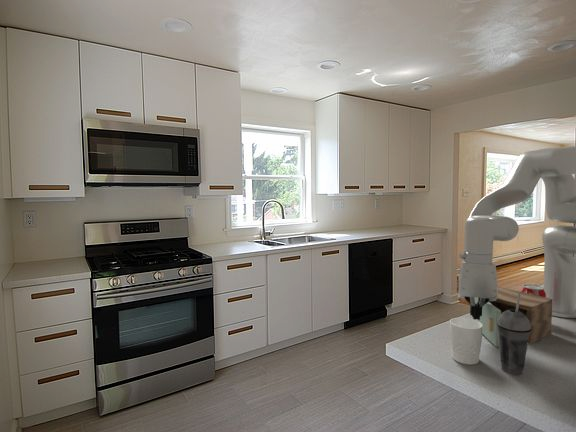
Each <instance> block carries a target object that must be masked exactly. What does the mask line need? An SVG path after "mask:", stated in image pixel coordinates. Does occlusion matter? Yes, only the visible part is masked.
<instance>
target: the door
mask: <svg viewBox="0 0 576 432" xmlns="http://www.w3.org/2000/svg"><path fill="white" fill-rule="evenodd" d="M474 299H475V304H477V302H478V297H474ZM500 315H501V311H500V310H499V309H498V308H496V307H495V306H494V305H492V304H491V303H489V302H487V303H486V304H485V305H484V306H483V307H482V316H480V320H478V319H473V318H472V319H473V320H476V321H478V322H480V323H481V324H482V325H483V328H482V336H485V338H486V339H488V341H490V343H492V344H493V346H494V347H500V340H499V332H498V326H497V322H498V318H499V316H500Z"/></svg>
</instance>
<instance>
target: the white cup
mask: <svg viewBox="0 0 576 432" xmlns="http://www.w3.org/2000/svg"><path fill="white" fill-rule="evenodd" d="M482 328H483V325H482V324H481V323H480V322H478V321H476V320H473V318H468V317H453V318H451V319H449V337H450V338H449V339H450V356H451V359H453V360H454V361H455V362H456V363H457V362H458V363H460V364H463V365H477V364H479V362H480V354H481V348H482V339H483V338H482V337H483V334H482Z"/></svg>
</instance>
